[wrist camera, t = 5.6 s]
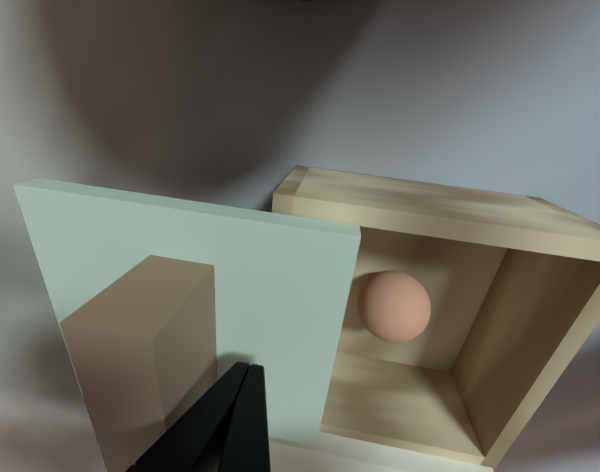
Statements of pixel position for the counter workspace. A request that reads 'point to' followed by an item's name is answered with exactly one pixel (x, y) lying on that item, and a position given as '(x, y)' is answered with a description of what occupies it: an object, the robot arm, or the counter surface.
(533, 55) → the counter surface
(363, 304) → the ball
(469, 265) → the box
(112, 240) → the cover
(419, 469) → the lid
